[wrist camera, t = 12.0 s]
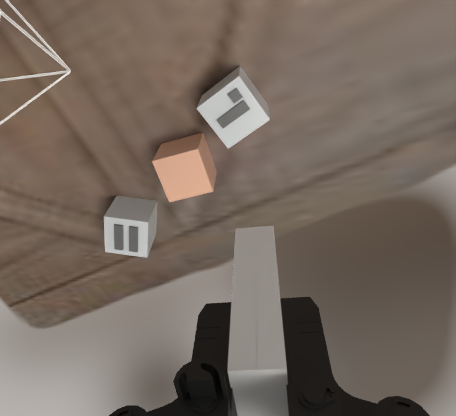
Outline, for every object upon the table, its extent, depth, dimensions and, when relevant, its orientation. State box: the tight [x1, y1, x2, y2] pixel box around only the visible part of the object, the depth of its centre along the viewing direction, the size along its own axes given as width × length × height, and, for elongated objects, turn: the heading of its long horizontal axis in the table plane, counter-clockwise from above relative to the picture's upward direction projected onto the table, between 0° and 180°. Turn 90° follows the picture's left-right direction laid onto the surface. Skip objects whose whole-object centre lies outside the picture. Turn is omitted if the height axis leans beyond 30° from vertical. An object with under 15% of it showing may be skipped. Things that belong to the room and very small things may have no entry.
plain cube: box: [152, 132, 217, 202], centre depth 43 cm, size 5×5×5 cm
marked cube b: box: [197, 66, 270, 148], centre depth 39 cm, size 5×5×5 cm
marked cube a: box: [104, 195, 157, 257], centre depth 47 cm, size 5×5×5 cm
